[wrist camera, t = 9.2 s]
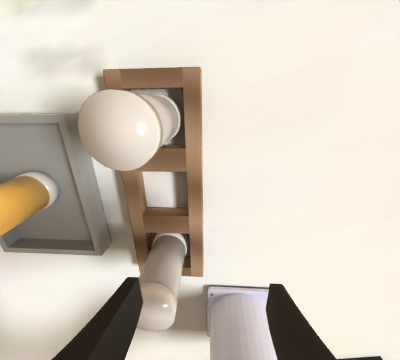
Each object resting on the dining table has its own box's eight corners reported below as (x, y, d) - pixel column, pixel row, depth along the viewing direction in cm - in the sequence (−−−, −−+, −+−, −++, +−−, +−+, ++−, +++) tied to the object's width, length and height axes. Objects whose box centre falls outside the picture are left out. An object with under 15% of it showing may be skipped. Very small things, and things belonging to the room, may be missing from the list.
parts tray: (111, 242, 22) (102, 255, 20) (21, 239, 23) (4, 251, 21) (80, 113, 16) (63, 114, 15) (-37, 114, 17) (-67, 116, 15)
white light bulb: (183, 140, 17) (160, 171, 9) (142, 140, 17) (88, 170, 10) (181, 94, 15) (152, 88, 8) (136, 94, 16) (68, 90, 8)
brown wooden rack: (203, 265, 22) (202, 276, 21) (144, 263, 23) (140, 274, 21) (201, 70, 15) (200, 66, 13) (112, 72, 15) (102, 69, 14)
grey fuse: (188, 254, 22) (176, 332, 14) (156, 253, 22) (128, 329, 15) (187, 227, 20) (172, 299, 13) (153, 226, 21) (120, 296, 13)
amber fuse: (64, 204, 20) (-24, 266, 12) (30, 203, 20) (-77, 264, 13) (53, 170, 18) (-54, 218, 11) (17, 169, 18) (-113, 216, 11)
